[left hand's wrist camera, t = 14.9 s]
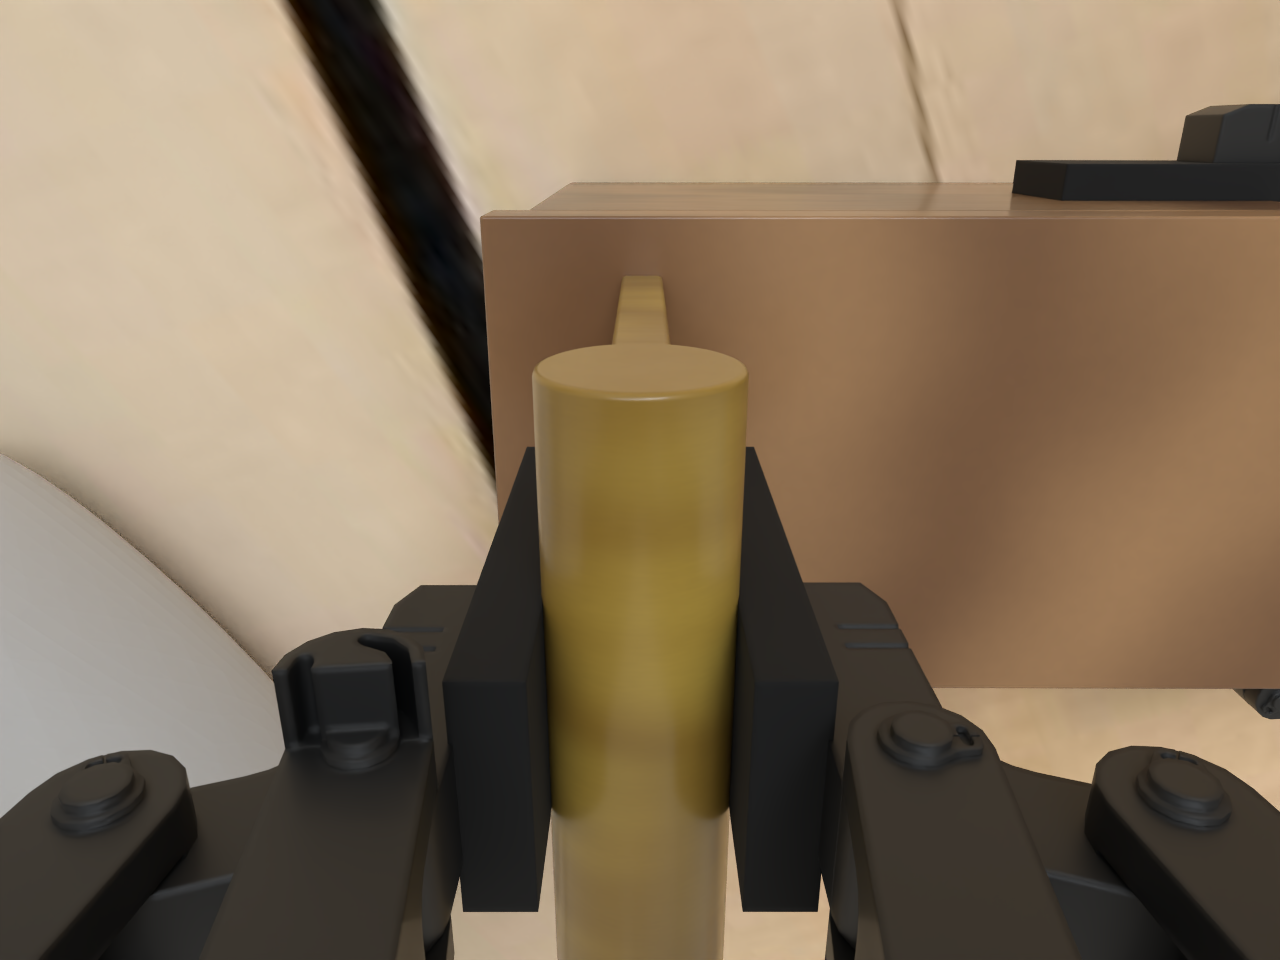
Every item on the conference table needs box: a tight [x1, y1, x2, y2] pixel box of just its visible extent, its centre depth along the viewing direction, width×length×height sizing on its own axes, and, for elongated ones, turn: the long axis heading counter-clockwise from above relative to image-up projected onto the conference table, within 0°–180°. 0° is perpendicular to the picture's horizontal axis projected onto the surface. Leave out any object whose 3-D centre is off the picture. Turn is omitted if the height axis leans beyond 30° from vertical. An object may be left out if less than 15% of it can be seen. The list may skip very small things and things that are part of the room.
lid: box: [480, 210, 1280, 960], centre depth 14 cm, size 16×9×10 cm, turn 90°
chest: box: [531, 183, 1280, 211], centre depth 23 cm, size 15×9×10 cm, turn 90°
